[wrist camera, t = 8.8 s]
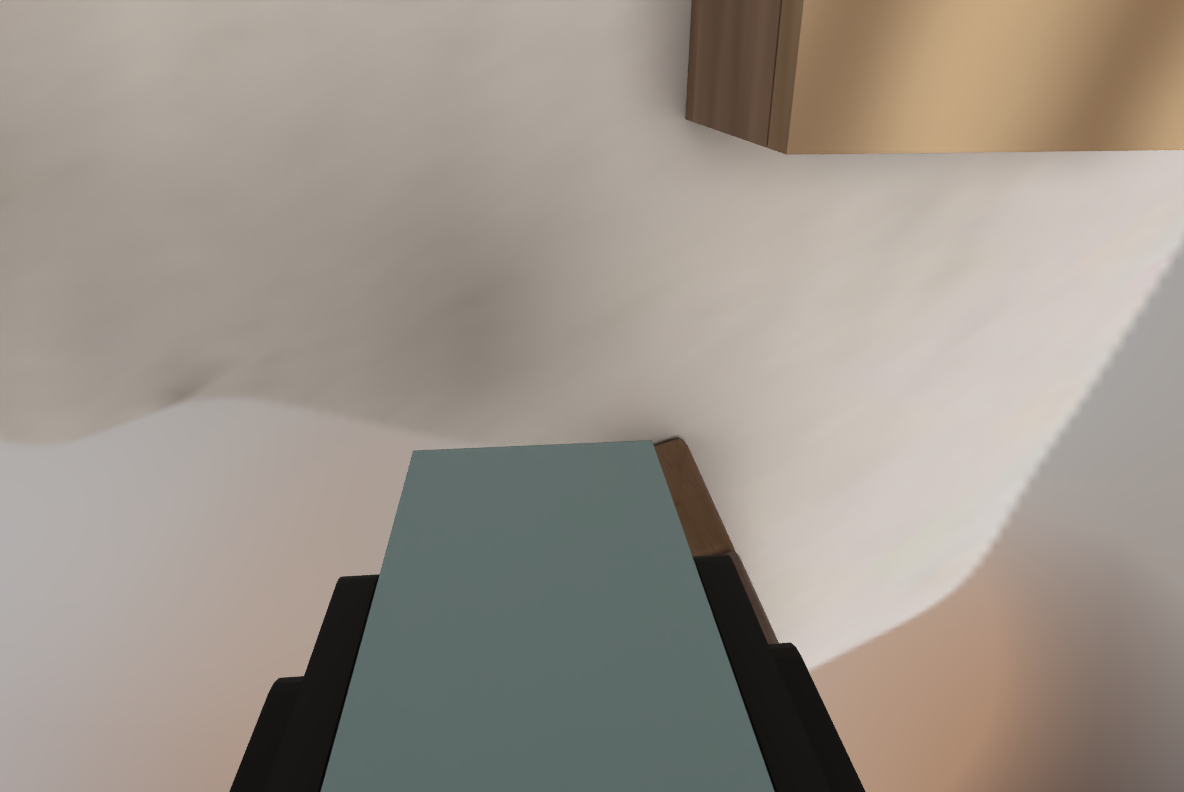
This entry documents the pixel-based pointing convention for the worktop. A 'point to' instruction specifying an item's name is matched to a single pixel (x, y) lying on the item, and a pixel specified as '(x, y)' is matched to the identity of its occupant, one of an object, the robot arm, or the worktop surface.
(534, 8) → the worktop surface
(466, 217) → the worktop surface
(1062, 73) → the lid
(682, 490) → the wooden block structure
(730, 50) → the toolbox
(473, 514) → the teal rectangular block
